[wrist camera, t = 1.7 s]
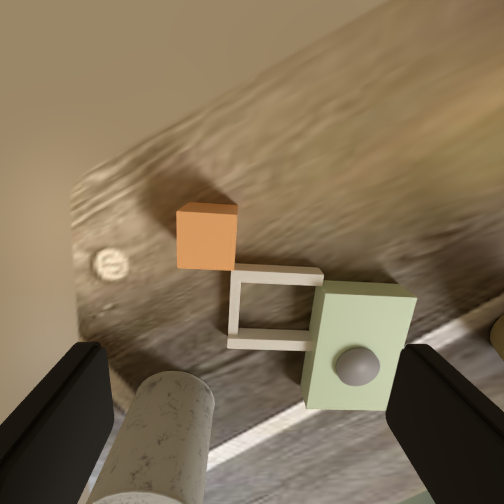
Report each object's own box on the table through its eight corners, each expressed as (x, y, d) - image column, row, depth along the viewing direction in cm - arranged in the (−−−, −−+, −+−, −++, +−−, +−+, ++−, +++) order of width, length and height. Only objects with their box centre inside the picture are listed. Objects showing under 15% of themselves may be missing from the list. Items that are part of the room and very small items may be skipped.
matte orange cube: (189, 201, 26) (176, 211, 21) (237, 205, 26) (237, 214, 21) (189, 248, 27) (177, 267, 22) (235, 250, 27) (234, 270, 22)
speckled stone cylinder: (215, 371, 32) (201, 491, 20) (213, 432, 35) (200, 569, 23) (132, 369, 31) (67, 491, 20) (137, 431, 34) (83, 570, 22)
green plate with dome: (231, 262, 28) (230, 277, 24) (402, 271, 29) (425, 287, 25) (225, 384, 32) (223, 411, 29) (372, 388, 33) (388, 415, 30)
